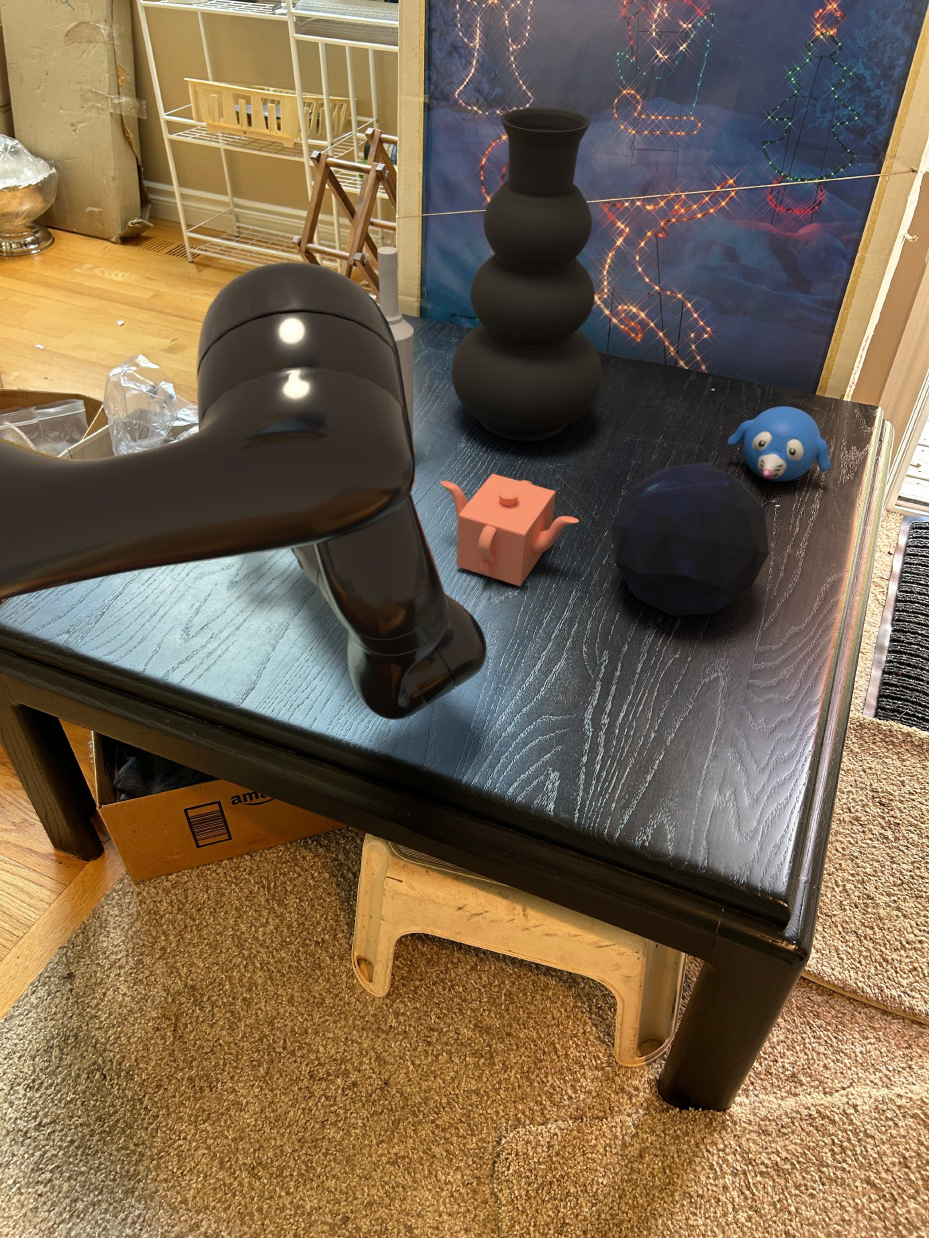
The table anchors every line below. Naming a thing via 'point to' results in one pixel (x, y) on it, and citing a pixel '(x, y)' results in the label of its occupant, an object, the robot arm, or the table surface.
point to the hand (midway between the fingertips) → (273, 452)
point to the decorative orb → (690, 539)
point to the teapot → (505, 527)
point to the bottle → (397, 321)
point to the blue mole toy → (782, 444)
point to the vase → (532, 289)
